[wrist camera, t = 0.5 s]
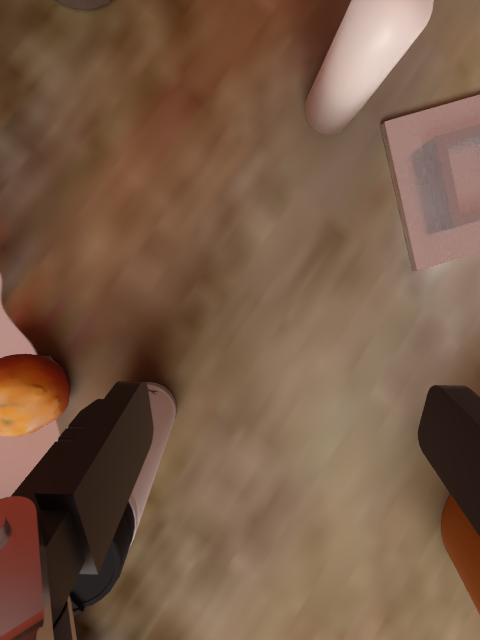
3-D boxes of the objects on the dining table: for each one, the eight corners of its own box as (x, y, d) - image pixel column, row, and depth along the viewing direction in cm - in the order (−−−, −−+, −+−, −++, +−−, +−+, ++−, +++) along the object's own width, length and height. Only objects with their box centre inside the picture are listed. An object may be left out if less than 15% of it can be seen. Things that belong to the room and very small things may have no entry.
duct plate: (380, 125, 32) (395, 110, 29) (518, 86, 33) (546, 67, 30) (412, 271, 34) (429, 269, 31) (542, 231, 34) (570, 226, 32)
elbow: (337, 144, 32) (407, 59, 20) (295, 118, 31) (342, 14, 19) (379, 68, 31) (476, -67, 20) (337, 40, 31) (411, -117, 19)
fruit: (55, 324, 31) (23, 384, 24) (90, 376, 35) (72, 437, 29) (-25, 342, 30) (-78, 408, 24) (21, 392, 35) (-12, 457, 29)
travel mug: (150, 367, 33) (46, 486, 13) (188, 411, 34) (144, 585, 14) (106, 402, 33) (-63, 572, 13) (145, 445, 34) (41, 666, 14)
